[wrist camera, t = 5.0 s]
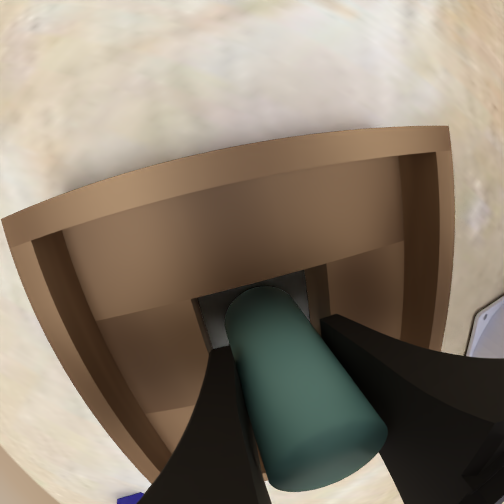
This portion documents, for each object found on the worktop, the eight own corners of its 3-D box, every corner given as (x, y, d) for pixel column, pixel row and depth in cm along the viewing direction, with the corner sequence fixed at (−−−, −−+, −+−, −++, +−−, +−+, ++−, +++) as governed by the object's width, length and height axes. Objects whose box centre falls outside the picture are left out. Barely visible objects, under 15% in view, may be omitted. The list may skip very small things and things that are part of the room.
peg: (290, 276, 12) (393, 398, 5) (301, 337, 13) (381, 461, 6) (215, 298, 11) (255, 453, 5) (235, 358, 12) (278, 502, 6)
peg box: (373, 130, 12) (448, 125, 7) (381, 367, 16) (423, 414, 12) (62, 196, 10) (0, 219, 6) (164, 431, 14) (165, 497, 10)
